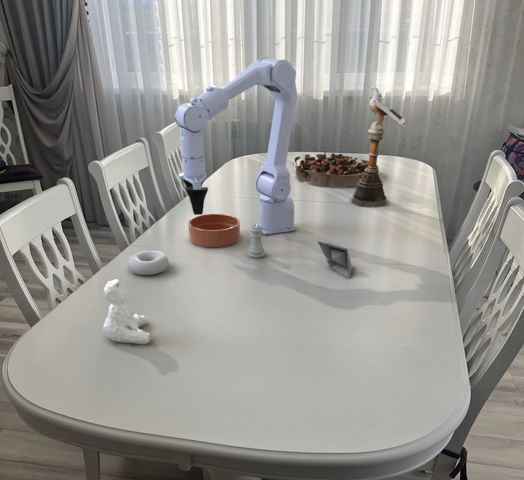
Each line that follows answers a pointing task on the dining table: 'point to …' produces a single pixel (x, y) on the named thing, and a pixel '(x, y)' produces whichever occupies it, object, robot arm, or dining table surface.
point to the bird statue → (374, 156)
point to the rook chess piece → (256, 242)
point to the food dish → (330, 170)
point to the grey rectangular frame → (337, 258)
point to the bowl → (214, 230)
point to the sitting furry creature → (122, 317)
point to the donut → (148, 262)
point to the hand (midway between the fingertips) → (196, 209)
